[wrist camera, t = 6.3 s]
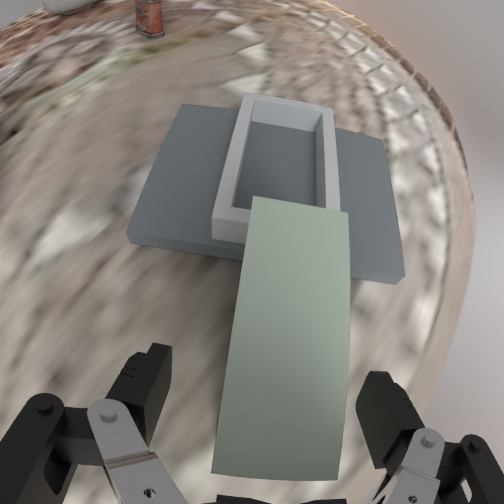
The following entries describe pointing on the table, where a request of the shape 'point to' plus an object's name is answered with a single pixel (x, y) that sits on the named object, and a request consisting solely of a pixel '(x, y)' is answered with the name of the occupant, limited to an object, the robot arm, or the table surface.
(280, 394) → the pale green rectangular block
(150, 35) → the lighter
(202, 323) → the table surface
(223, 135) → the grey socket base
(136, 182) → the table surface
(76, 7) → the cereal bowl
